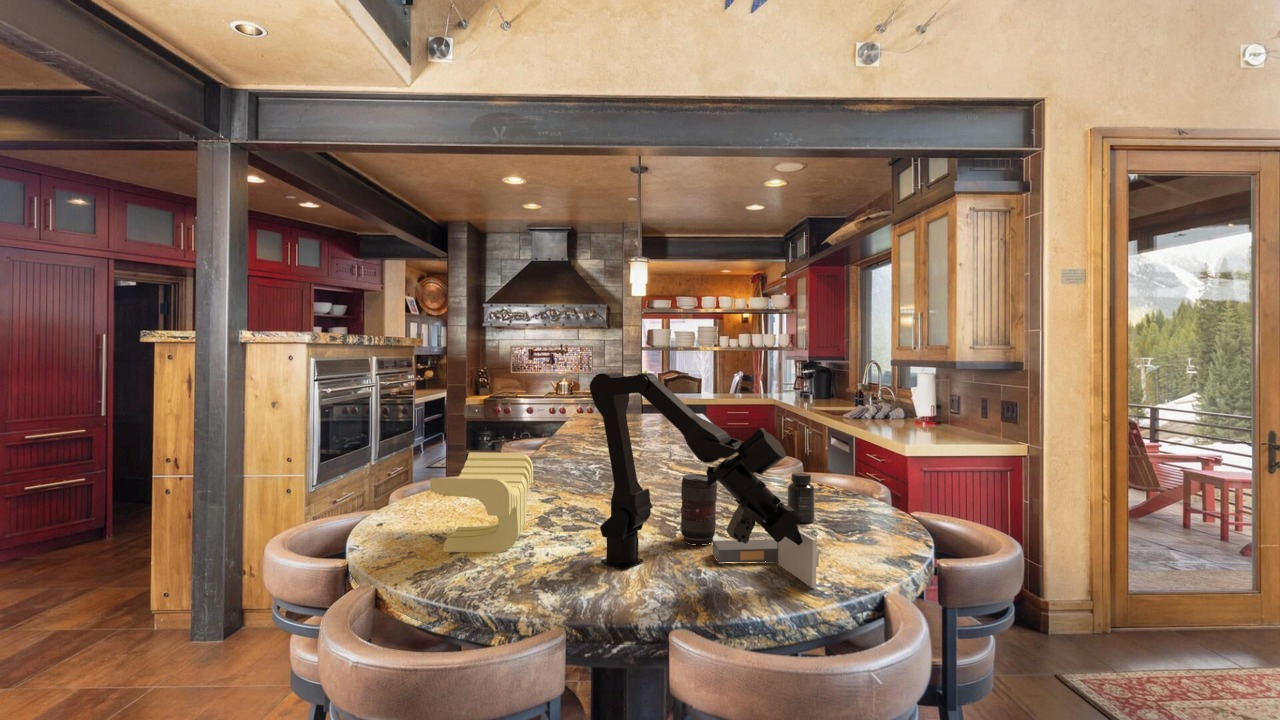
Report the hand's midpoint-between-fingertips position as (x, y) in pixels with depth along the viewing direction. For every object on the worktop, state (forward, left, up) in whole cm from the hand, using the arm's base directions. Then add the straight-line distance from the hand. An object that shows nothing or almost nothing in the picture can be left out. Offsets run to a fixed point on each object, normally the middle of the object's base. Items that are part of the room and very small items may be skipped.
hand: (800, 543), depth 120 cm
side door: (+3, +2, -8) cm, 9 cm away
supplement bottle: (+40, +19, -8) cm, 45 cm away
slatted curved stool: (-24, +65, -8) cm, 69 cm away
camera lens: (+8, +29, -8) cm, 31 cm away
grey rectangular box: (+6, +14, -8) cm, 17 cm away
